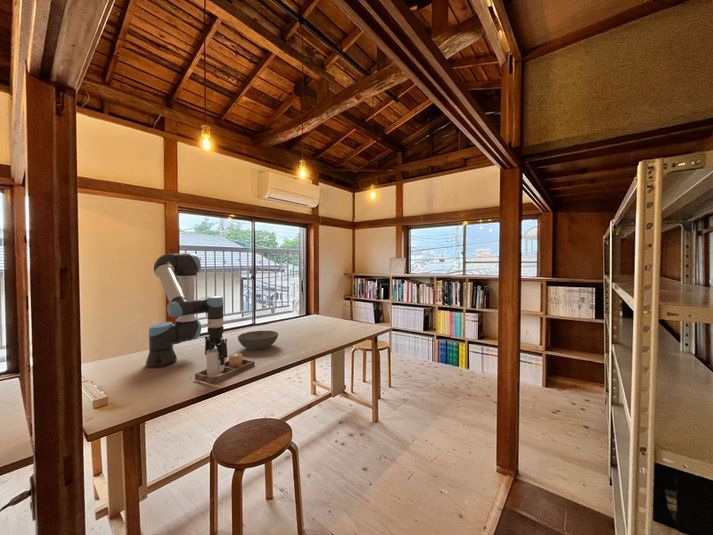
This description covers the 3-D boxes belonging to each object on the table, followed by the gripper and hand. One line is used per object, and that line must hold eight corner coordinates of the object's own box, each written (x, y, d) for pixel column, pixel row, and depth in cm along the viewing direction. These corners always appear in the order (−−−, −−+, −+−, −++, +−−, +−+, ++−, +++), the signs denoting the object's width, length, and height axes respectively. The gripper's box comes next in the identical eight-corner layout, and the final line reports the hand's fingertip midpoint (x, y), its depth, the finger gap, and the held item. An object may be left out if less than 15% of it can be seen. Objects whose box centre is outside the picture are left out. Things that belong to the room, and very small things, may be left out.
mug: (209, 377, 147) (208, 353, 147) (204, 372, 152) (204, 350, 152) (229, 371, 155) (229, 349, 154) (224, 367, 159) (224, 346, 159)
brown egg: (226, 368, 163) (226, 356, 163) (236, 364, 170) (236, 352, 169) (235, 370, 160) (235, 358, 160) (245, 366, 167) (245, 354, 167)
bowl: (230, 354, 189) (230, 339, 188) (247, 342, 215) (247, 328, 214) (271, 355, 188) (271, 339, 187) (283, 342, 214) (282, 329, 214)
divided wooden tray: (195, 379, 150) (195, 373, 150) (235, 362, 174) (235, 357, 174) (215, 384, 144) (215, 378, 144) (254, 366, 168) (254, 361, 168)
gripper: (196, 325, 153) (197, 369, 154) (223, 330, 145) (223, 375, 146) (208, 322, 160) (209, 364, 161) (235, 326, 152) (235, 370, 153)
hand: (216, 369), depth 153 cm, fingers closed on mug, 7 cm apart
